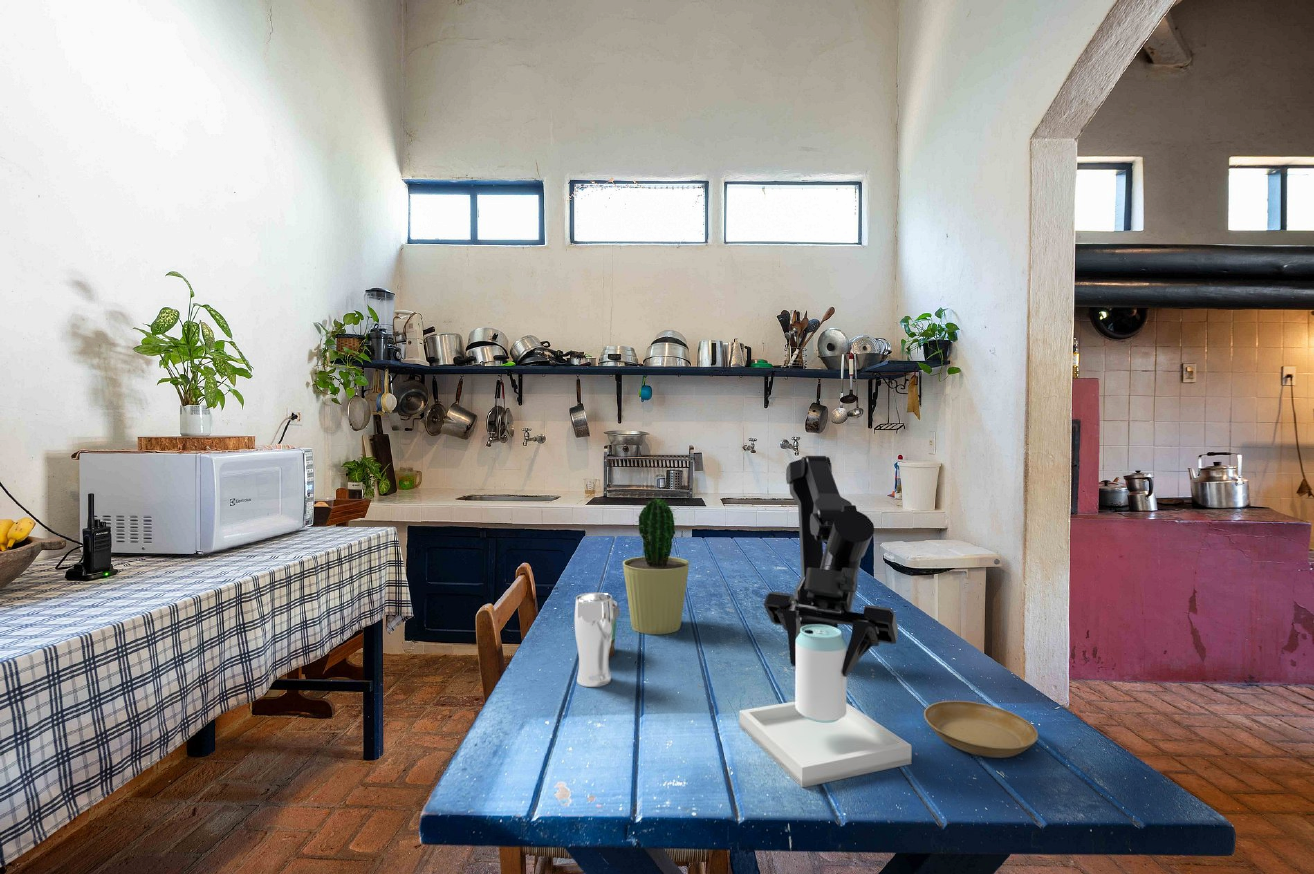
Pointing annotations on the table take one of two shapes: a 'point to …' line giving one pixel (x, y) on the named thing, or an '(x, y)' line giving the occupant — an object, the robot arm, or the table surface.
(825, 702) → the can
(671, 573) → the potted cactus
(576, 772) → the table surface
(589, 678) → the beer glass
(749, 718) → the tray
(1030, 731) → the plant saucer
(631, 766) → the table surface
